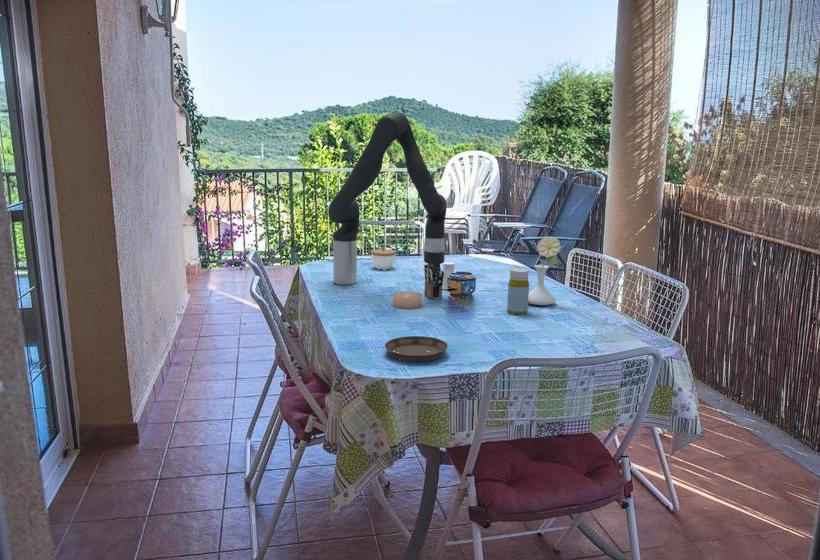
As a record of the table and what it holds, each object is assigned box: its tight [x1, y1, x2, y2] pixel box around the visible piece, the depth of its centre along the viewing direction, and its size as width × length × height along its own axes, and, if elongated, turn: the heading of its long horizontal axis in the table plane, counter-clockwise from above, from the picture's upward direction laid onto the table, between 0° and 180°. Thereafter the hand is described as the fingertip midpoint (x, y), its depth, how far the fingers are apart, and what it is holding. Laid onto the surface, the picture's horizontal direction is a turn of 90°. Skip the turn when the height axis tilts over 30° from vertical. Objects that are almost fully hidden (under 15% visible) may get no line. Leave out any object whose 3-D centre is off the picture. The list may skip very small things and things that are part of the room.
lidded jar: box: [370, 246, 397, 270], centre depth 320 cm, size 11×11×9 cm
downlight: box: [442, 262, 457, 290], centre depth 286 cm, size 8×7×10 cm
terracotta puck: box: [392, 290, 423, 310], centre depth 260 cm, size 10×10×4 cm
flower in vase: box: [528, 235, 562, 306], centre depth 263 cm, size 13×11×25 cm
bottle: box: [506, 267, 530, 315], centre depth 252 cm, size 7×7×15 cm
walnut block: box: [423, 279, 443, 300], centre depth 272 cm, size 5×5×6 cm
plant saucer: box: [384, 335, 449, 362], centre depth 208 cm, size 18×18×3 cm
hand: (433, 294), depth 272 cm, fingers closed on walnut block, 5 cm apart
